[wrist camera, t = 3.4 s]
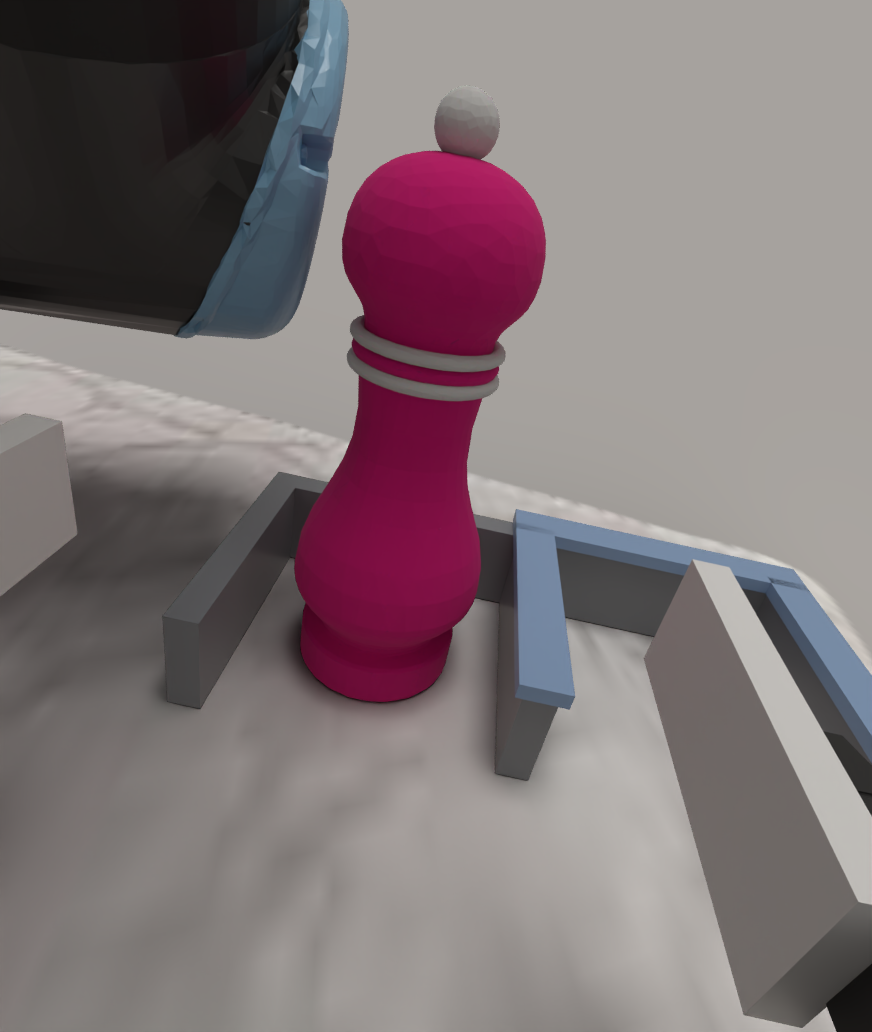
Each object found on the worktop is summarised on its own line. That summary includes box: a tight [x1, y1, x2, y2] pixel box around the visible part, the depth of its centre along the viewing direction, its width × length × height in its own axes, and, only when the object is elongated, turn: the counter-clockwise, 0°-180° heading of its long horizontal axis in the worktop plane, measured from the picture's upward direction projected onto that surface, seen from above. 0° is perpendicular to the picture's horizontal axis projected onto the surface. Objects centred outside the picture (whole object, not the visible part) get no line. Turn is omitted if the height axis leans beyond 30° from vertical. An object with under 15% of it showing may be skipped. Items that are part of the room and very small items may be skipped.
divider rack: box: [162, 472, 872, 780], centre depth 25 cm, size 26×12×5 cm, turn 84°
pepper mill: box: [294, 86, 546, 702], centre depth 21 cm, size 7×7×20 cm
